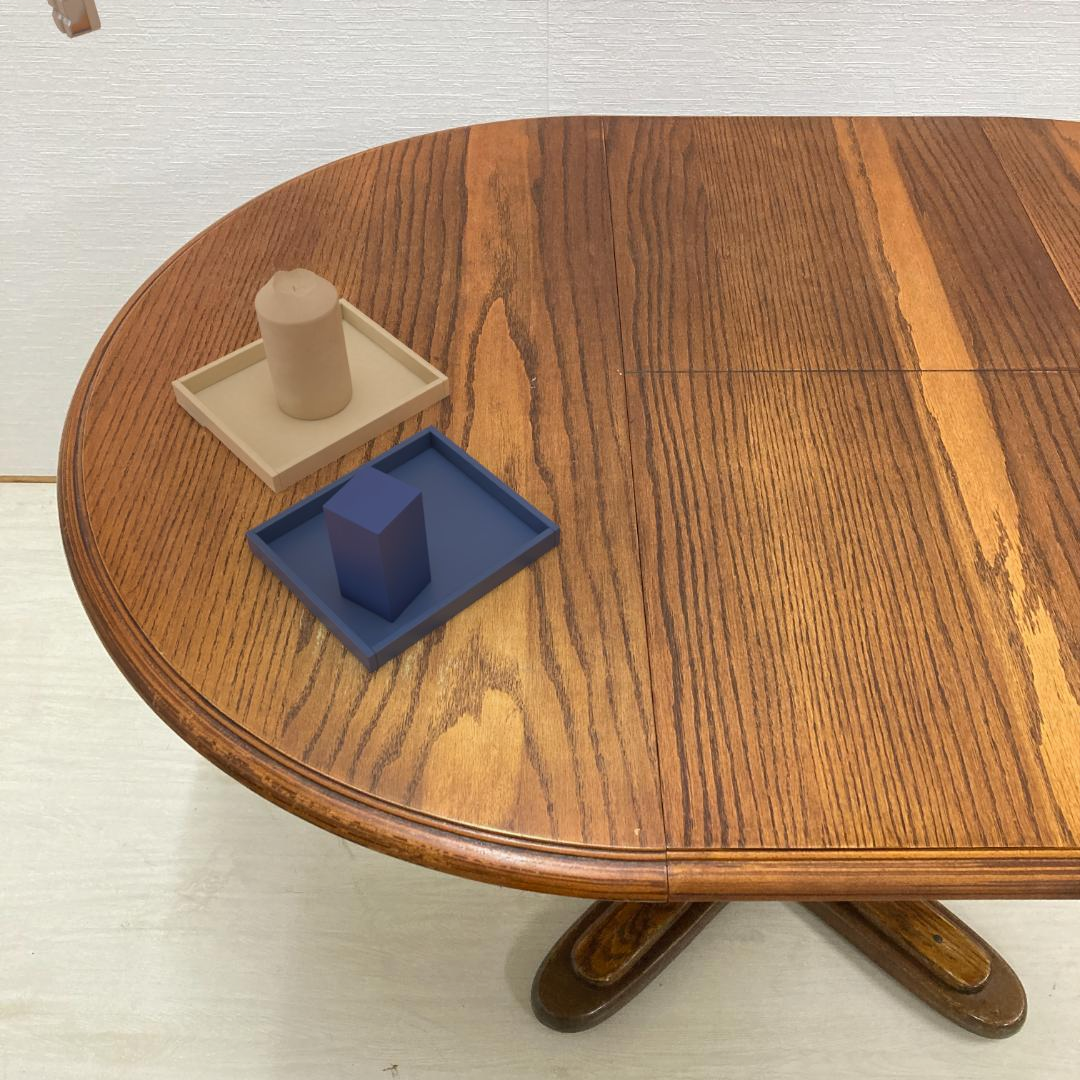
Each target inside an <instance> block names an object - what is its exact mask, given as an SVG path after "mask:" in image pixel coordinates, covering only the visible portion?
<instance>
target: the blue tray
mask: <svg viewBox="0 0 1080 1080" xmlns="http://www.w3.org/2000/svg"><path fill="white" fill-rule="evenodd" d="M366 465H369V466H371V467H373V468H375V469H377V470H379V471H381V472H383V473H385V474H387V475H389V476H391V477H393V478H396V479H398V480H400V481H402V482H404V483H406V484H408V485H410V486H412V487H414V488H416V489H418V490H420V491H422V499H423V508H424V517H425V526H426V536H427V545H428V554H429V563H430V572H431V582H430V583H429V584H428V585H427V586H426V587H425V588H424V589H423V590H422V591H421V592H420V594H419V595H418V596H417V597H416V598H415V599H414V600H413V601H412V602H411V603H410V604H409V606H408V607H407V608H406V609H405V610H404V611H403V612H402V613H401V614H400V615H399V616H398V618H397V619H396V620H395V621H394V622H393V623H391V622H389V621H387V620H386V619H384V618H382V617H380V616H378V615H376V614H374V613H373V612H371V611H369V610H367V609H365V608H363V607H362V606H360V605H358V604H356V603H354V602H352V601H350V600H349V599H347V598H345V597H343V596H341V592H340V588H339V583H338V578H337V573H336V568H335V564H334V559H333V554H332V549H331V544H330V539H329V535H328V530H327V525H326V520H325V515H324V511H323V505H324V504H326V503H327V502H328V501H329V500H330V499H331V498H332V497H333V496H334V495H335V494H336V493H337V492H338V491H339V490H340V489H341V488H343V487H344V486H345V485H346V484H347V483H348V482H349V481H350V480H351V479H352V478H353V477H354V476H355V475H356V474H357V473H358V472H360V471H361V470H362V469H363V468H364V467H365V466H366ZM244 534H245V537H246V541H247V545H248V548H249V550H250V551H251V552H252V554H254V555H255V556H256V557H257V559H259V560H260V562H261V563H263V565H264V566H266V568H268V570H270V572H272V574H273V575H274V576H275V577H276V578H277V579H278V580H279V581H280V582H281V583H282V584H283V585H284V586H285V587H286V588H287V589H288V590H289V591H290V592H291V593H292V594H293V595H294V596H295V597H296V598H297V599H298V600H299V601H300V602H301V603H302V604H303V605H304V606H305V607H306V608H307V609H308V611H310V612H311V614H313V615H314V617H316V618H317V619H318V621H320V622H321V623H322V625H323V626H324V627H325V628H326V629H327V630H328V631H329V632H330V633H331V634H332V635H333V636H334V637H335V638H336V639H337V640H338V641H339V642H340V643H341V644H342V645H343V646H344V647H345V648H346V649H347V650H348V651H349V652H350V653H351V655H353V656H354V657H355V658H356V659H357V660H358V661H359V662H360V663H361V665H363V666H364V668H366V670H368V671H369V672H370V673H371V674H373V673H374V672H376V671H377V670H379V669H380V668H382V667H384V665H386V664H387V663H389V662H390V661H392V660H393V659H395V658H397V656H399V655H400V654H402V653H403V652H405V651H406V650H408V649H409V648H411V647H413V646H414V645H415V644H417V643H419V642H420V641H421V640H422V639H424V638H425V637H427V636H428V635H430V634H431V633H433V632H434V631H435V630H437V629H438V628H440V627H442V626H443V625H444V624H446V623H447V622H448V621H450V620H451V619H453V618H454V617H456V616H457V615H458V614H460V613H461V612H463V611H464V610H466V609H468V608H469V607H470V606H471V605H473V604H475V603H476V602H478V601H479V600H481V599H482V598H484V597H485V596H487V595H488V594H489V593H491V592H492V591H494V590H495V589H496V588H498V587H499V586H501V585H502V584H504V583H505V582H506V581H508V580H509V579H511V578H512V577H514V576H515V575H517V574H518V573H520V572H521V571H523V570H524V569H525V568H527V567H529V566H530V565H531V564H533V563H535V562H536V561H537V560H539V559H540V558H541V557H543V556H544V555H546V554H547V553H549V552H551V550H553V549H554V548H556V547H557V546H559V545H560V543H561V527H560V526H559V524H557V523H555V522H554V521H553V520H551V519H550V518H549V517H548V516H547V515H546V514H544V513H543V512H541V511H540V510H539V509H538V508H536V507H535V506H534V505H533V504H531V503H530V502H529V501H528V500H527V499H525V498H524V497H523V496H521V495H520V494H519V493H518V492H516V491H515V490H514V489H513V488H511V487H510V486H509V485H508V484H506V482H504V481H503V480H501V479H500V478H499V477H498V476H497V475H495V474H494V473H493V472H492V471H490V470H489V469H488V468H486V467H485V466H484V465H483V464H481V463H480V462H479V461H478V460H476V458H474V457H473V456H471V454H469V453H468V452H467V451H465V450H464V449H463V448H462V447H460V446H459V445H458V444H457V443H455V442H454V441H453V440H451V438H449V437H448V436H446V435H445V434H444V433H443V432H441V430H439V429H438V428H437V427H435V426H434V425H433V424H430V425H428V426H427V427H425V428H423V429H421V430H419V431H418V432H417V433H415V434H413V435H411V436H410V437H408V438H406V439H404V440H402V441H401V442H399V443H397V444H396V445H394V446H392V447H390V448H389V449H387V450H385V451H384V452H382V453H380V454H379V455H377V456H374V457H373V458H372V459H369V461H366V462H365V463H363V464H361V465H359V466H358V467H356V468H354V469H353V470H350V471H349V472H347V473H346V474H344V475H342V476H340V477H339V478H337V479H335V480H334V481H332V482H330V483H328V484H327V485H325V486H323V487H322V488H320V489H318V490H317V491H315V492H313V493H312V494H310V495H308V496H306V497H304V498H303V499H300V500H299V501H298V502H295V503H294V504H292V505H291V506H289V507H287V508H286V509H284V510H282V511H280V512H279V513H277V514H275V515H274V516H272V517H270V518H268V519H267V520H265V521H263V522H261V523H259V524H257V525H256V526H254V527H252V528H251V529H249V530H248V531H246V532H245V533H244Z"/></svg>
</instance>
